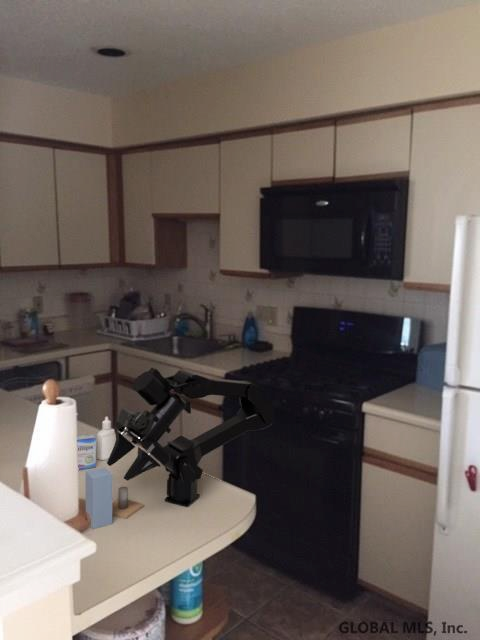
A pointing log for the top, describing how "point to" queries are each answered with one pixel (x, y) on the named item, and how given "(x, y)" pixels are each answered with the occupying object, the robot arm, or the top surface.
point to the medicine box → (86, 451)
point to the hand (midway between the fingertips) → (116, 471)
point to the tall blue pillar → (99, 497)
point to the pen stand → (124, 505)
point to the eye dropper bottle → (105, 440)
